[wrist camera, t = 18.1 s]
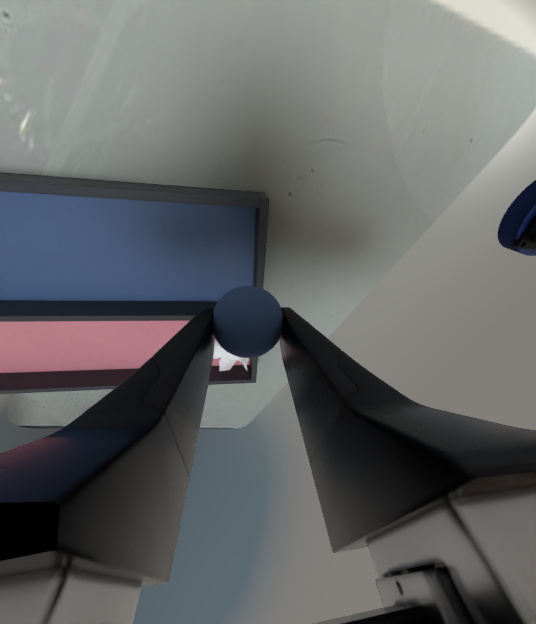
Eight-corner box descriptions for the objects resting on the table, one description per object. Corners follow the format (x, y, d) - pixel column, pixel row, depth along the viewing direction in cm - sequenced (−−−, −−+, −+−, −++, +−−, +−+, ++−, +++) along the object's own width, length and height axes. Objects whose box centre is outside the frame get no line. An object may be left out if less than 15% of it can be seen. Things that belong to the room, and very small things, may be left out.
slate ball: (280, 274, 9) (296, 314, 7) (274, 325, 11) (285, 371, 9) (212, 272, 9) (203, 314, 7) (216, 326, 11) (211, 375, 8)
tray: (264, 192, 16) (269, 199, 14) (254, 362, 28) (255, 382, 26) (-285, 151, 12) (-418, 150, 10) (-28, 371, 24) (-59, 396, 21)
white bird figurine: (198, 313, 21) (211, 345, 17) (242, 305, 23) (261, 334, 20) (201, 366, 25) (212, 400, 22) (238, 356, 27) (253, 386, 24)
